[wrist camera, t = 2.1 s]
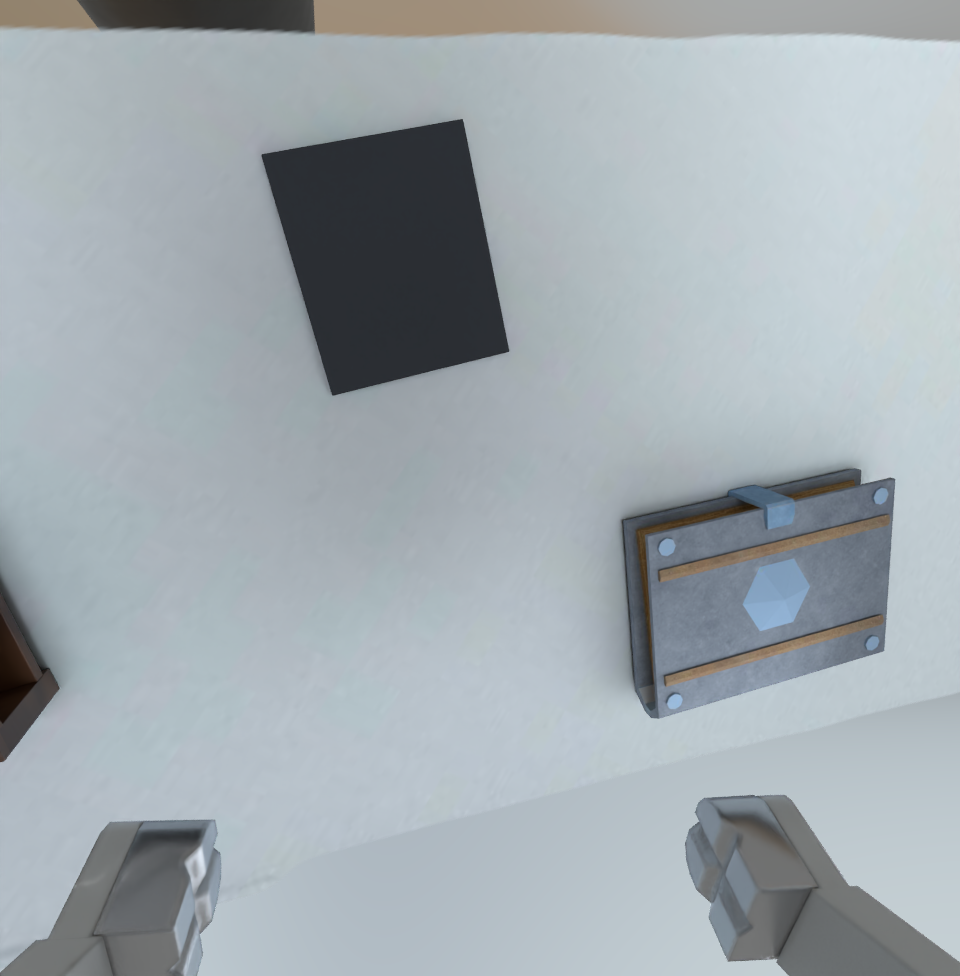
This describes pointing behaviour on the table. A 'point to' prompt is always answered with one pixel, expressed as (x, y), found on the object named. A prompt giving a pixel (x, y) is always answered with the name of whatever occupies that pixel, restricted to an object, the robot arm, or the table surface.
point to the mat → (390, 253)
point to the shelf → (19, 684)
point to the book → (757, 588)
